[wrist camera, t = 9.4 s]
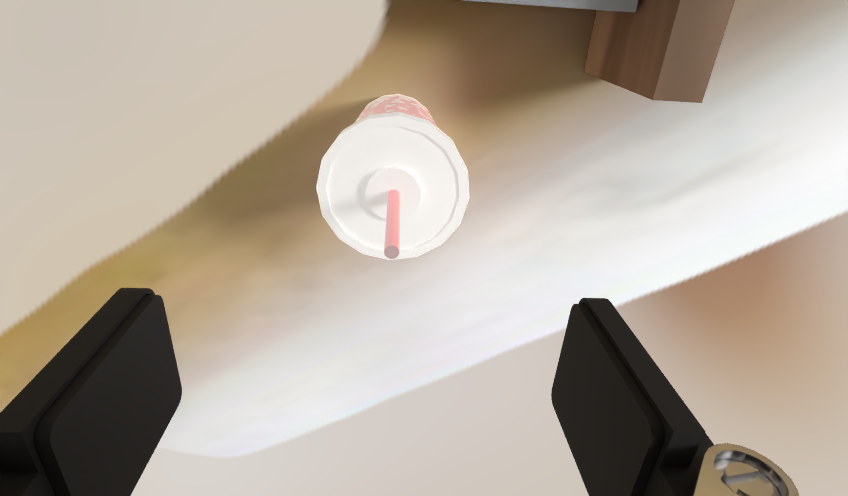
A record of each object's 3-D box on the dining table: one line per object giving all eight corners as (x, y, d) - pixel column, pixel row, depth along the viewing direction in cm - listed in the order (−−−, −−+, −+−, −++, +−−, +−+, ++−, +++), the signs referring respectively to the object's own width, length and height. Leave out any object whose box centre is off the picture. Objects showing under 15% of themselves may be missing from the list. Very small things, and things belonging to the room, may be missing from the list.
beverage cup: (418, 203, 29) (432, 356, 17) (324, 159, 28) (261, 290, 15) (469, 112, 27) (530, 211, 14) (368, 57, 25) (337, 115, 13)
